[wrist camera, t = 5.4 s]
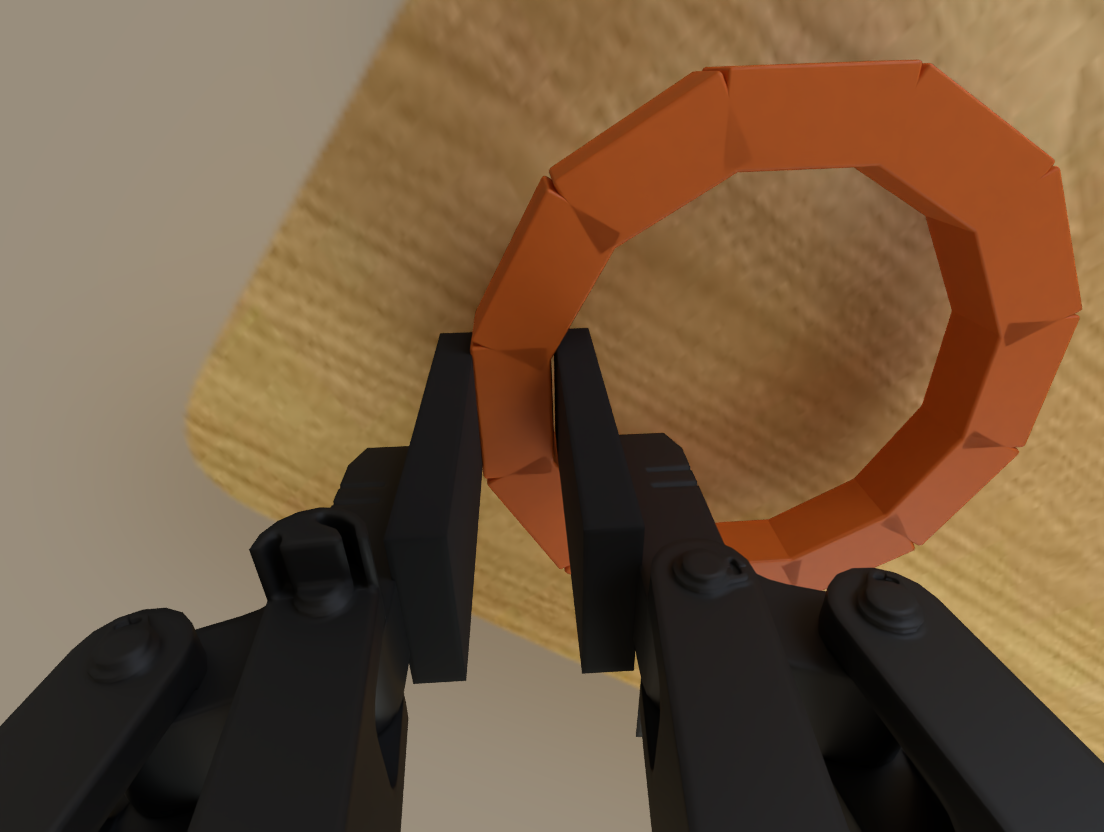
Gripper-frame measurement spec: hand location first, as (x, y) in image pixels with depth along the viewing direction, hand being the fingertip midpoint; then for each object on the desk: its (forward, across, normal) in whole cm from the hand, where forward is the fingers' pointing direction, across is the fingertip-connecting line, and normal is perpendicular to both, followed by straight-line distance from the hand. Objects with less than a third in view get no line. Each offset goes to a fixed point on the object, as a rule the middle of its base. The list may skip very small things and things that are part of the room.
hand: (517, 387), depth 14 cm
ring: (0, +5, 0) cm, 5 cm away
